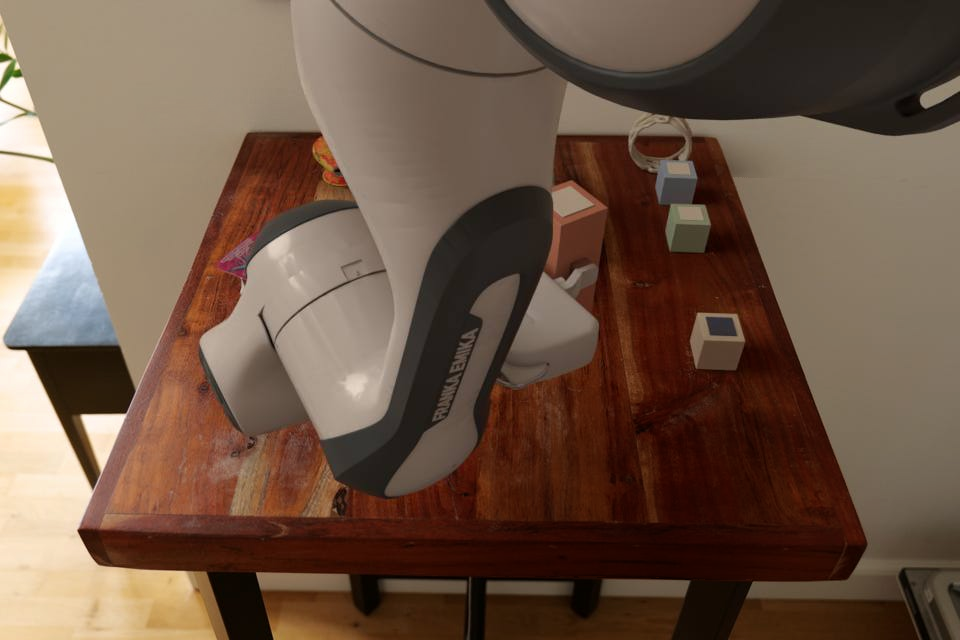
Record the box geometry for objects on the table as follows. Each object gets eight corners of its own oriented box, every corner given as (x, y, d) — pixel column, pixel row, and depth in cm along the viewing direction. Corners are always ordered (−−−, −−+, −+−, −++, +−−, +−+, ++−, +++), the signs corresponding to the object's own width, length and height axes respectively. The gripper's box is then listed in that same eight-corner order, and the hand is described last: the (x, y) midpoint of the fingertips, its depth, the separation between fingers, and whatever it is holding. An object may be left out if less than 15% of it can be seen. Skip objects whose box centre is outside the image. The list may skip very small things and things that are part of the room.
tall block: (589, 323, 73) (608, 206, 65) (548, 342, 71) (561, 224, 63) (558, 294, 76) (572, 178, 68) (516, 311, 74) (526, 195, 66)
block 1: (691, 206, 106) (697, 177, 103) (659, 204, 106) (664, 176, 103) (686, 187, 109) (692, 160, 106) (655, 186, 109) (660, 158, 106)
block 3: (736, 370, 85) (745, 340, 82) (695, 369, 85) (704, 339, 82) (728, 342, 88) (737, 313, 85) (689, 341, 88) (697, 311, 85)
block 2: (704, 253, 99) (711, 224, 96) (669, 251, 99) (676, 223, 96) (698, 232, 102) (705, 203, 99) (665, 231, 102) (671, 202, 99)
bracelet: (624, 157, 114) (633, 103, 109) (685, 163, 113) (697, 109, 108) (623, 173, 111) (632, 118, 106) (685, 180, 110) (698, 125, 105)
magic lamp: (315, 226, 101) (305, 144, 93) (315, 146, 114) (306, 69, 106) (374, 222, 102) (368, 141, 94) (367, 143, 115) (361, 66, 107)
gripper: (503, 363, 55) (663, 290, 61) (356, 206, 68) (501, 158, 73) (499, 427, 59) (648, 353, 65) (361, 269, 72) (498, 218, 78)
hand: (569, 249), depth 69 cm, fingers closed on tall block, 4 cm apart
